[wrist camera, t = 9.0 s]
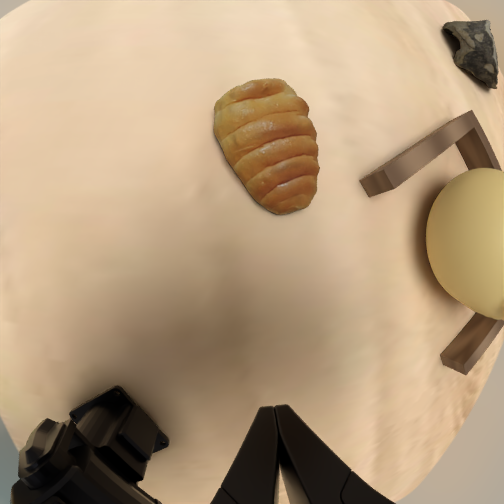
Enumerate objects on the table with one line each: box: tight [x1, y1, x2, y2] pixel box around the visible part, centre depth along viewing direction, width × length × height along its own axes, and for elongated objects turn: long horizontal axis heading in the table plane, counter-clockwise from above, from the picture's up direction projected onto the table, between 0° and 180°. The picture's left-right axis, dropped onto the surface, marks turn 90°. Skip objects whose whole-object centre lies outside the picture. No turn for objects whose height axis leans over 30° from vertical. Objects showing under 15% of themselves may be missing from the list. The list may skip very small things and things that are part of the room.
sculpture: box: [426, 168, 504, 321], centre depth 17 cm, size 11×12×11 cm
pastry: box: [214, 78, 320, 215], centre depth 18 cm, size 9×7×4 cm
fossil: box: [443, 20, 498, 89], centre depth 20 cm, size 11×9×10 cm
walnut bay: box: [360, 110, 504, 375], centre depth 20 cm, size 16×20×4 cm
